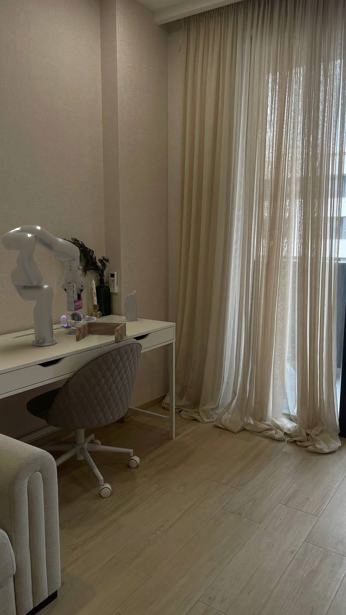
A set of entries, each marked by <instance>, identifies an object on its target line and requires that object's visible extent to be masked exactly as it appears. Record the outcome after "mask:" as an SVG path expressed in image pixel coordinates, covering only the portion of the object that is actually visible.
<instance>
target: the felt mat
mask: <svg viewBox="0 0 346 615" xmlns="http://www.w3.org/2000/svg"><path fill="white" fill-rule="evenodd" d="M65 335H75V336H76V328H74V329H71V330H69V331H68V332H66V333H65Z"/></svg>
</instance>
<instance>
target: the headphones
mask: <svg viewBox="0 0 346 615" xmlns="http://www.w3.org/2000/svg"><path fill="white" fill-rule="evenodd" d="M83 318H84V319H83ZM87 322H104V320H101V319H99V318H97V317H96V316H89V315H86V314H85V313H84V312H83V311H72V313H65V314H63V315H62V316H60V323H61V324H62V326H63V327H64V328H69V327H73V328H74V329H76V328H78V327H79V326H81V325H83V324H85V323H87Z"/></svg>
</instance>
